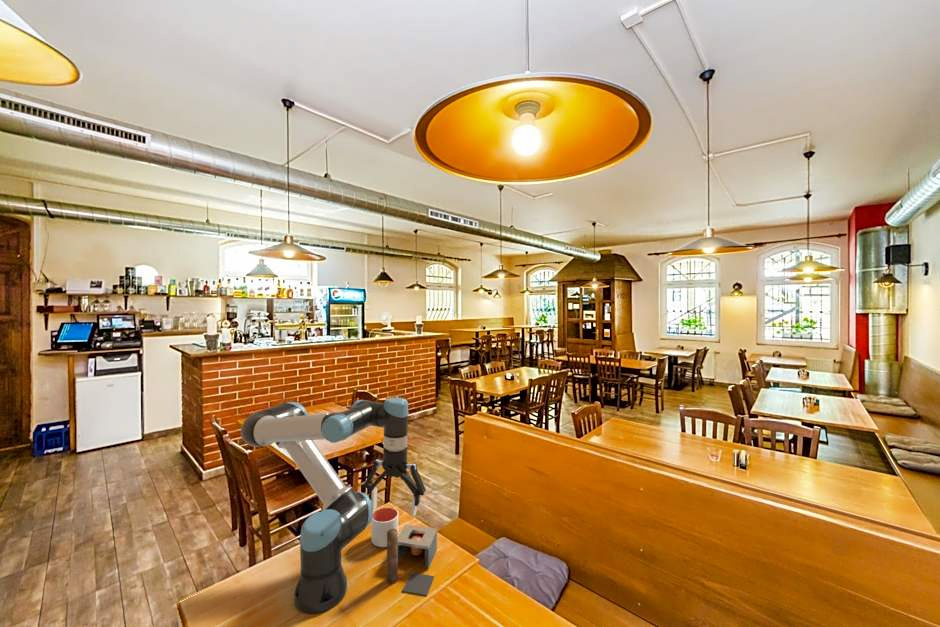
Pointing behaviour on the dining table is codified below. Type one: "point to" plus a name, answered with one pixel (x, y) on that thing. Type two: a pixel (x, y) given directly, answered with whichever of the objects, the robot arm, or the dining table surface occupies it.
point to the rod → (392, 556)
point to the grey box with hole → (418, 542)
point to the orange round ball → (413, 549)
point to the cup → (383, 525)
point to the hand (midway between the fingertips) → (393, 512)
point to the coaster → (418, 584)
